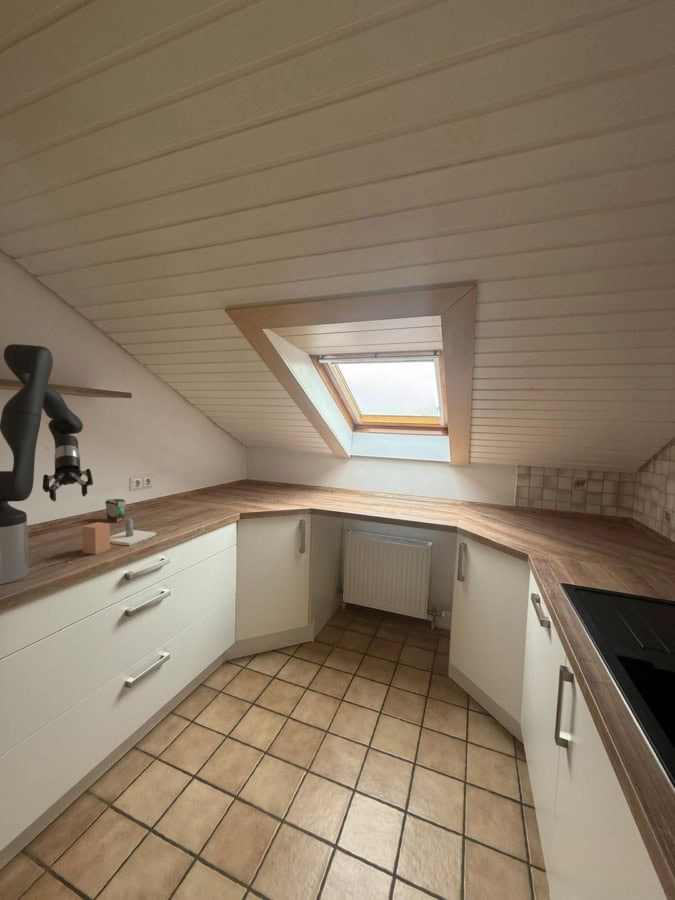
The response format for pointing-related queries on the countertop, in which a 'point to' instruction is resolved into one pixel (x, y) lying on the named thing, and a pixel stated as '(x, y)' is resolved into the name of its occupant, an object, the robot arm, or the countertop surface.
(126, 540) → the post
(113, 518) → the food container
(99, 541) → the salmon orange block
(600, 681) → the countertop surface
